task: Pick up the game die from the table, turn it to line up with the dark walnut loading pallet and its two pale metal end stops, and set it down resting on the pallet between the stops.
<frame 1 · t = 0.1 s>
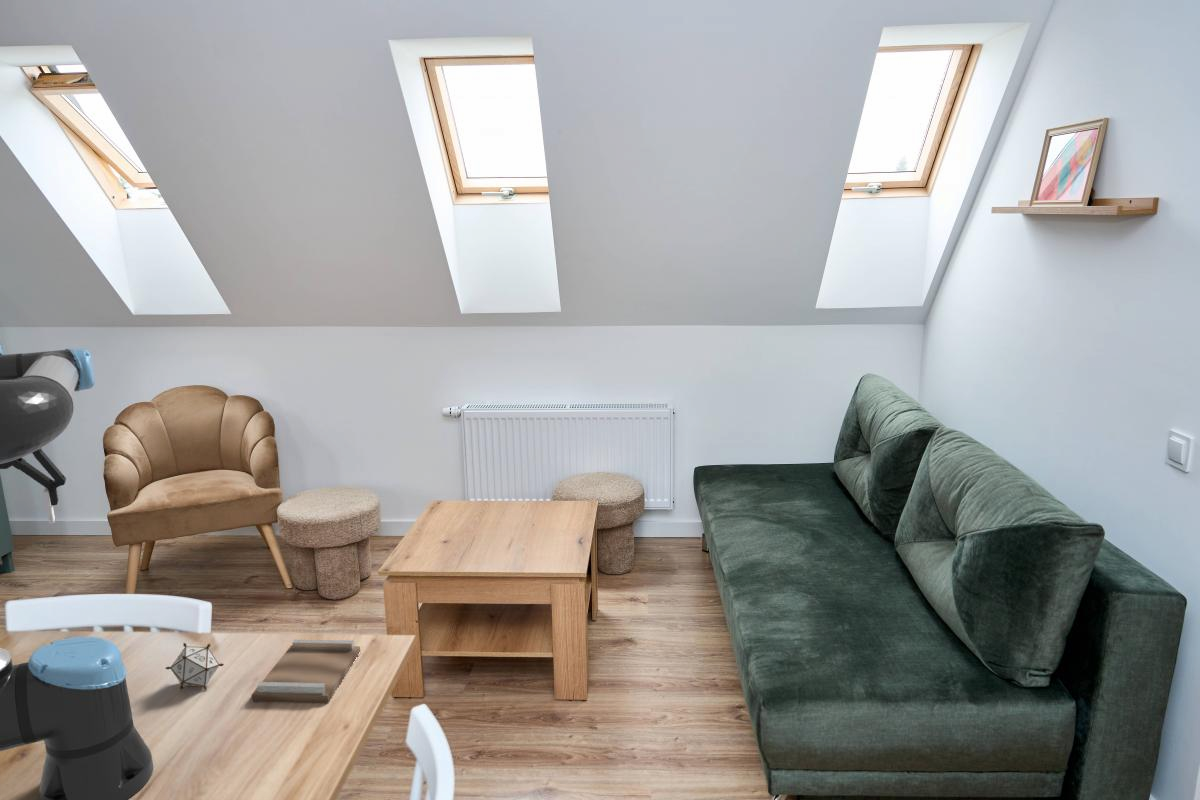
hand: (10, 528, 161), 28 cm above the table, tool pointing down, fingers open, 13 cm apart
loading pallet: (309, 676, 160), on the table
game die: (197, 686, 158), on the table
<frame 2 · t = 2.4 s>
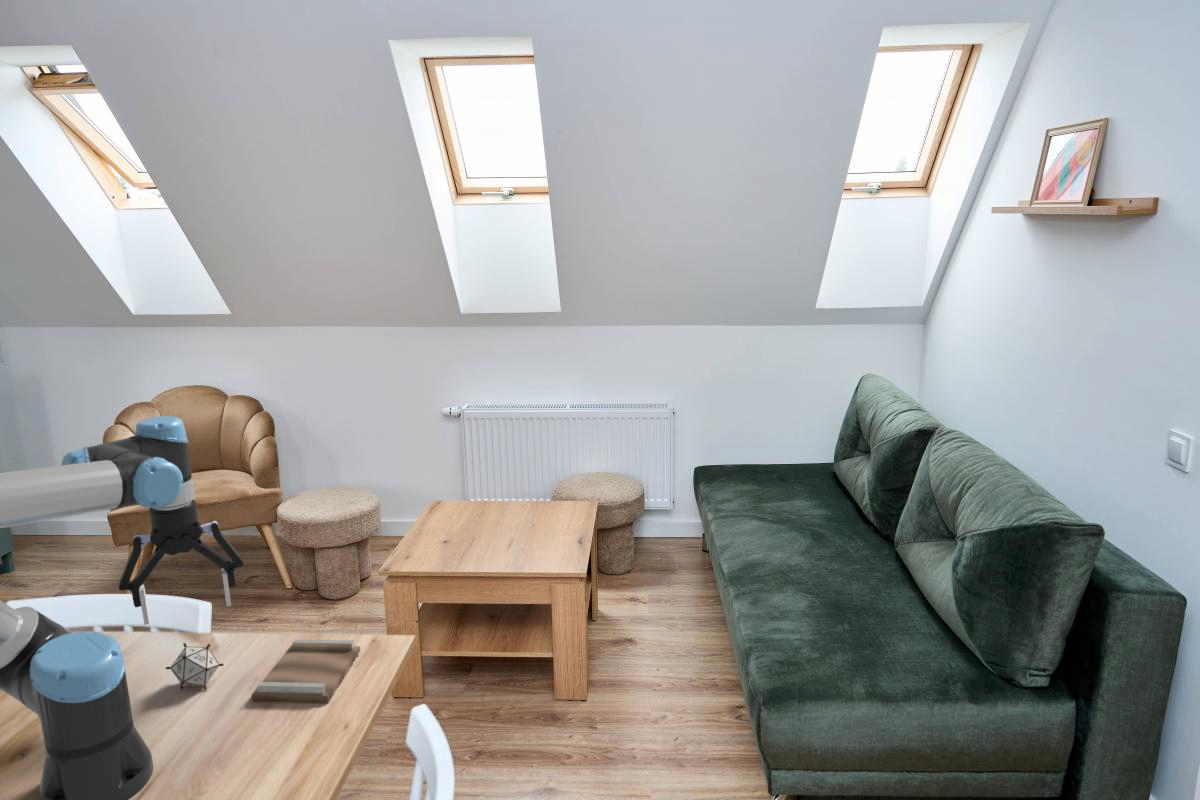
hand: (188, 612, 155), 15 cm above the table, tool pointing down, fingers open, 13 cm apart
nothing on the table moved.
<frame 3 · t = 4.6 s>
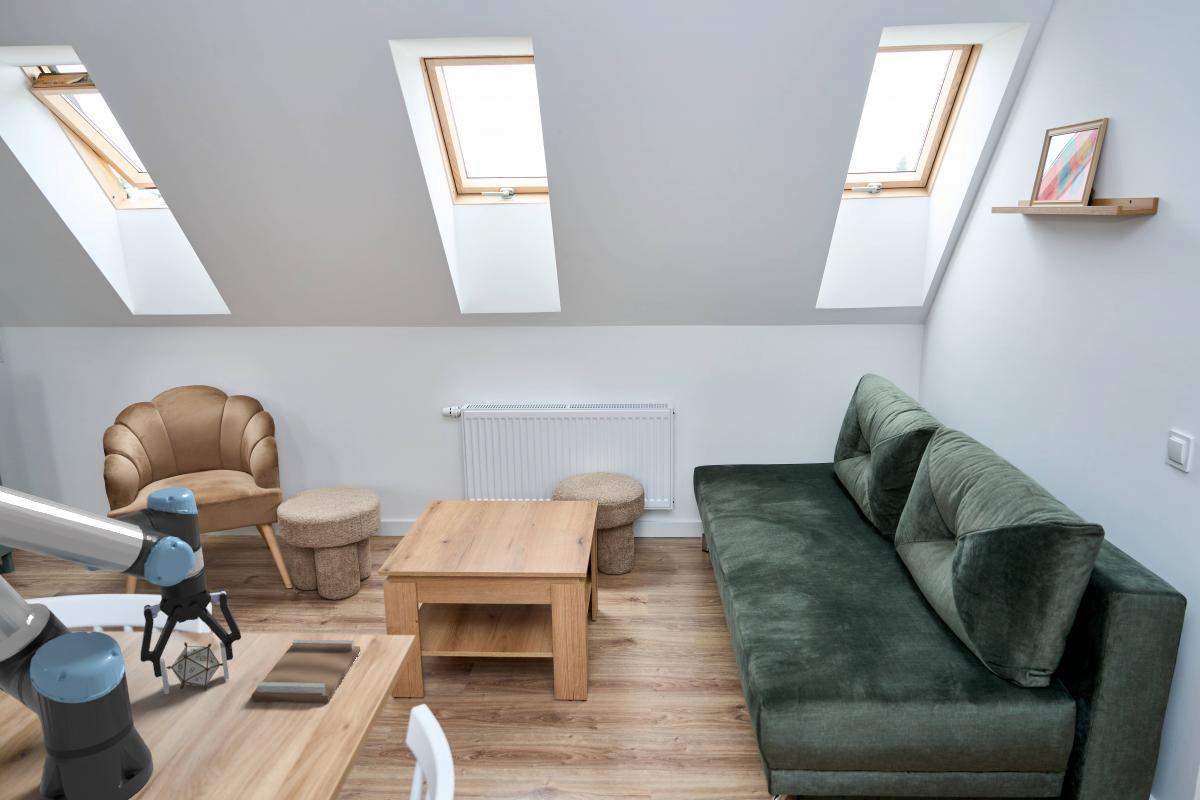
hand: (197, 682, 158), 1 cm above the table, tool pointing down, fingers closed on game die, 9 cm apart
game die: (198, 686, 158), on the table, touching gripper
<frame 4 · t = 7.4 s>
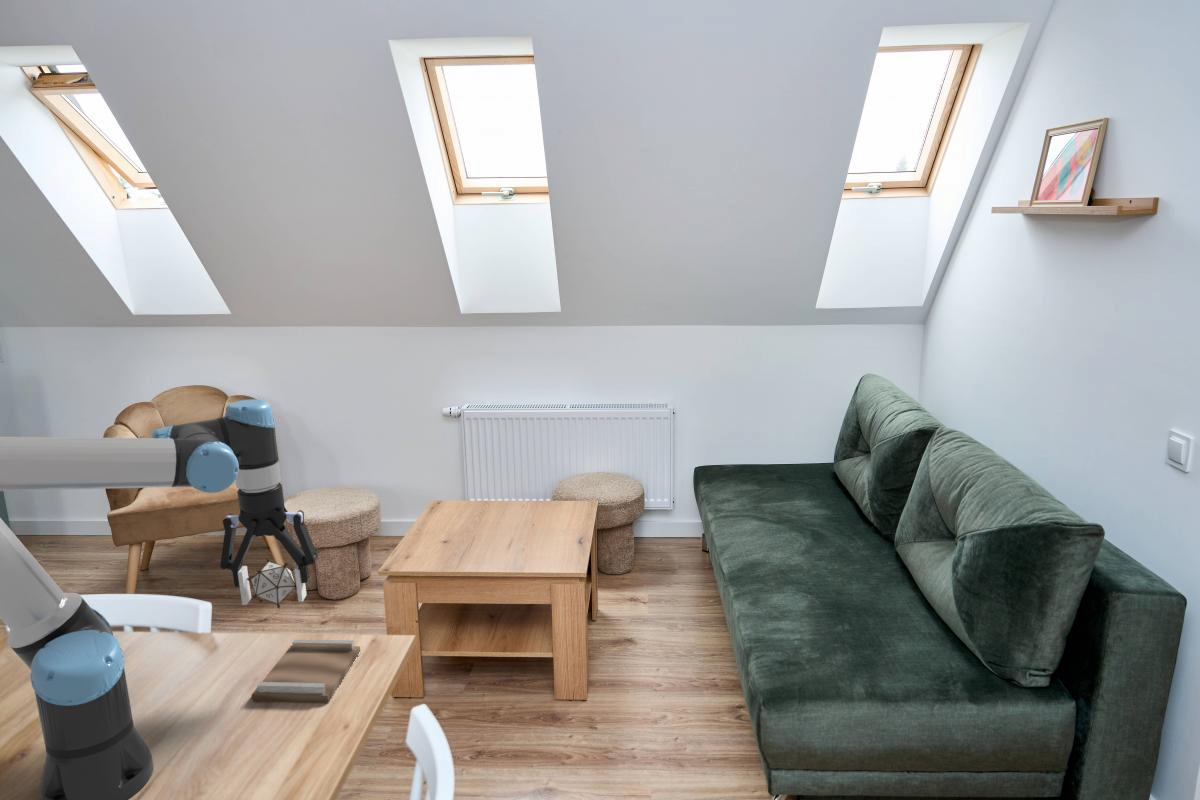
hand: (274, 599, 156), 16 cm above the table, tool pointing down, fingers closed on game die, 9 cm apart
game die: (276, 603, 157), point 15 cm above the table, touching gripper
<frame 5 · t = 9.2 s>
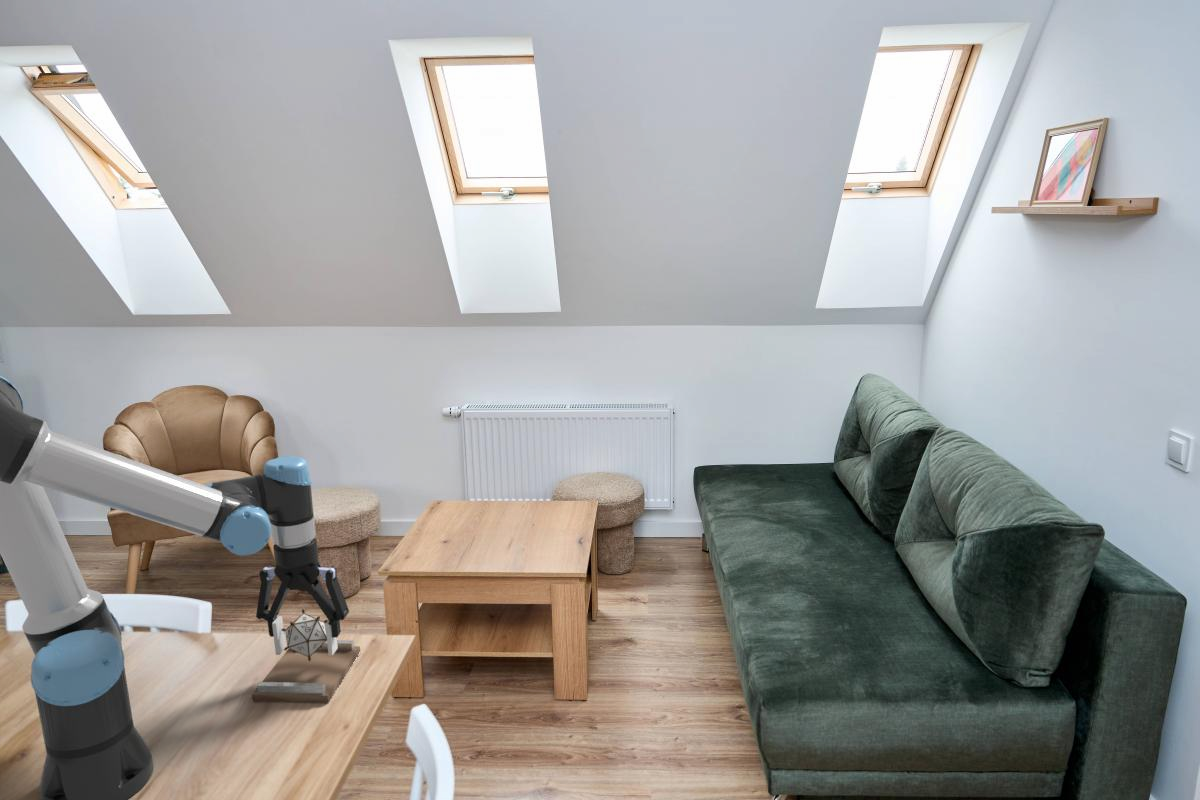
hand: (307, 651, 159), 5 cm above the table, tool pointing down, fingers closed on game die, 9 cm apart
game die: (308, 654, 159), point 4 cm above the table, touching gripper
when the fingers open (3 cm above the table, at t = 10.5 s): game die stays where it is, resting on loading pallet.
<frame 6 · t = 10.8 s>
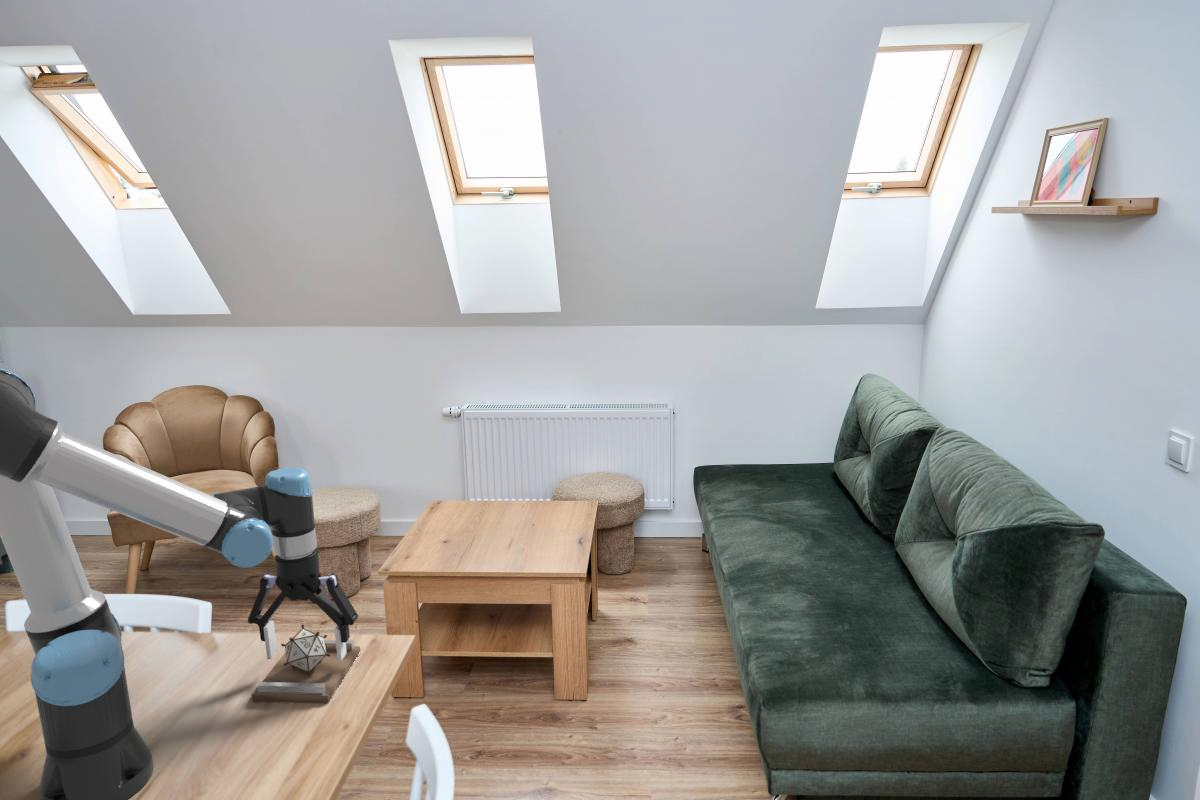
hand: (307, 656, 159), 4 cm above the table, tool pointing down, fingers open, 13 cm apart
game die: (307, 670, 160), point 1 cm above the table, touching loading pallet
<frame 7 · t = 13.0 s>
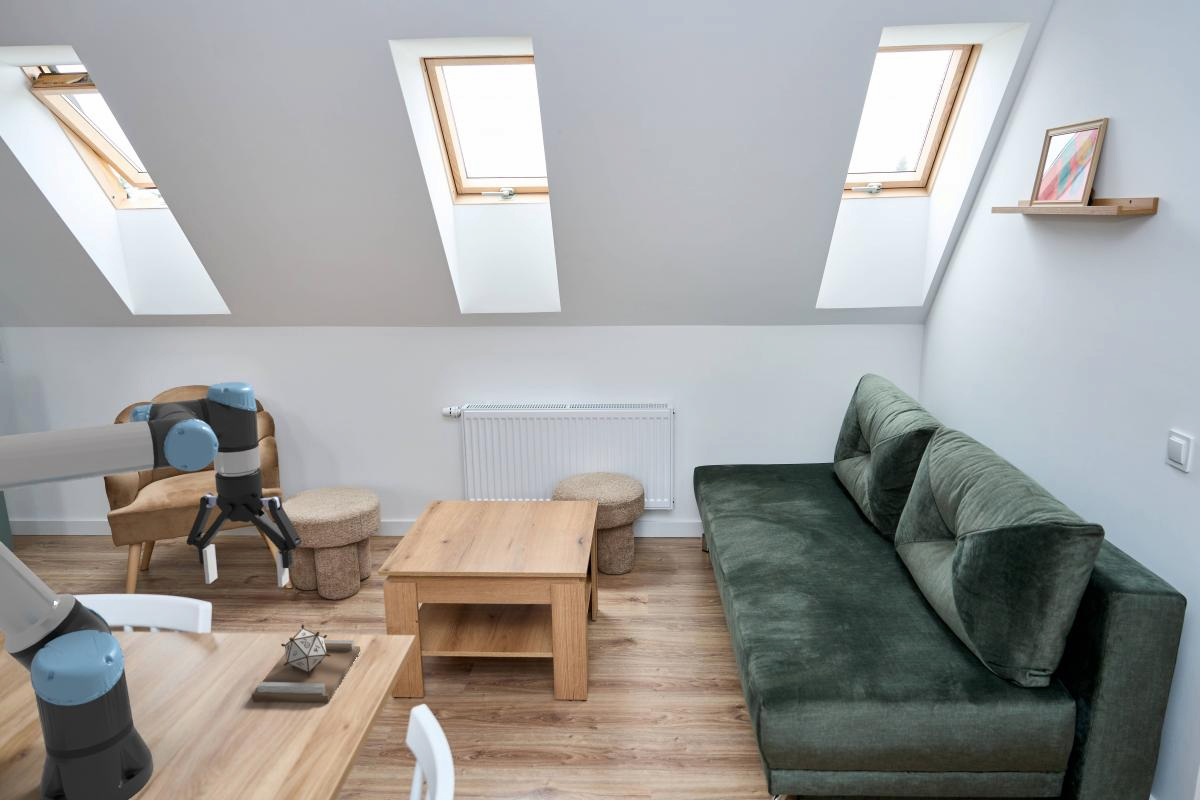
hand: (247, 582, 153), 21 cm above the table, tool pointing down, fingers open, 13 cm apart
nothing on the table moved.
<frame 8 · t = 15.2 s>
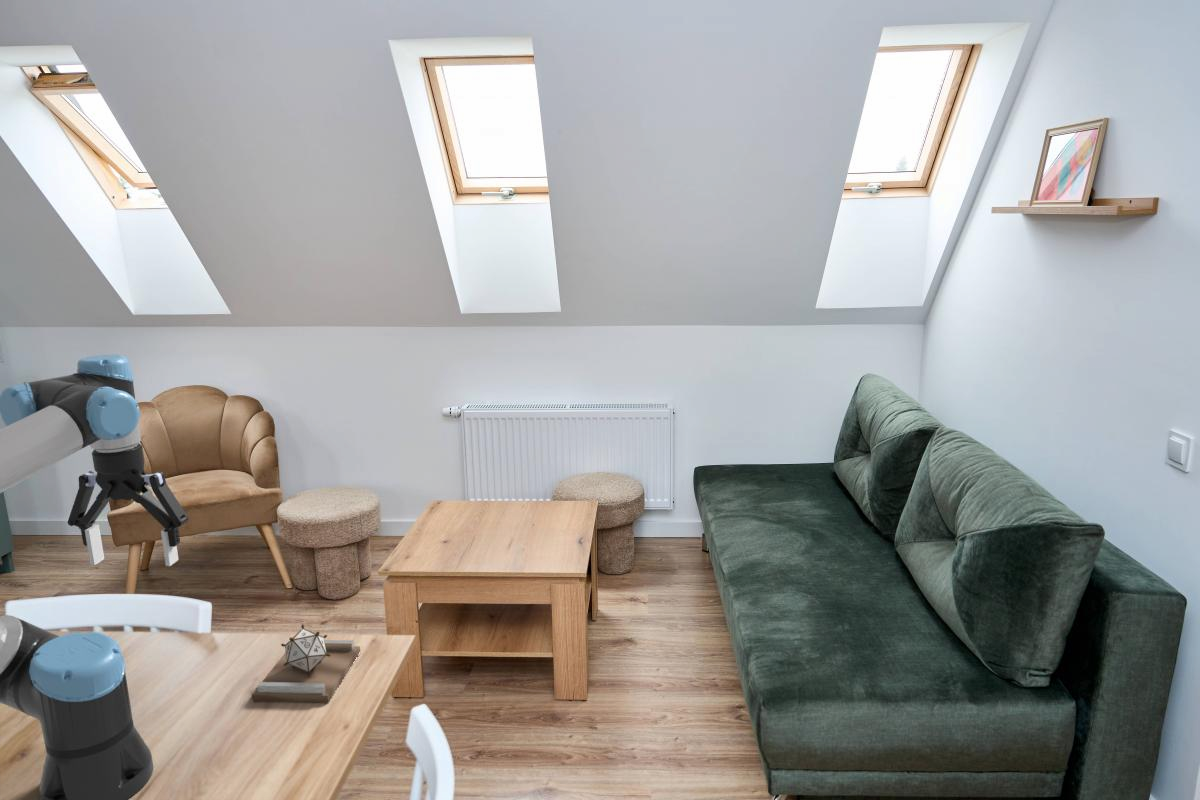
hand: (134, 562, 148), 27 cm above the table, tool pointing down, fingers open, 13 cm apart
nothing on the table moved.
at the end: game die 0.1 cm off-centre on the loading pallet, point 1.3 cm above the loading pallet's base; game die touching loading pallet; the gripper is holding nothing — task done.
